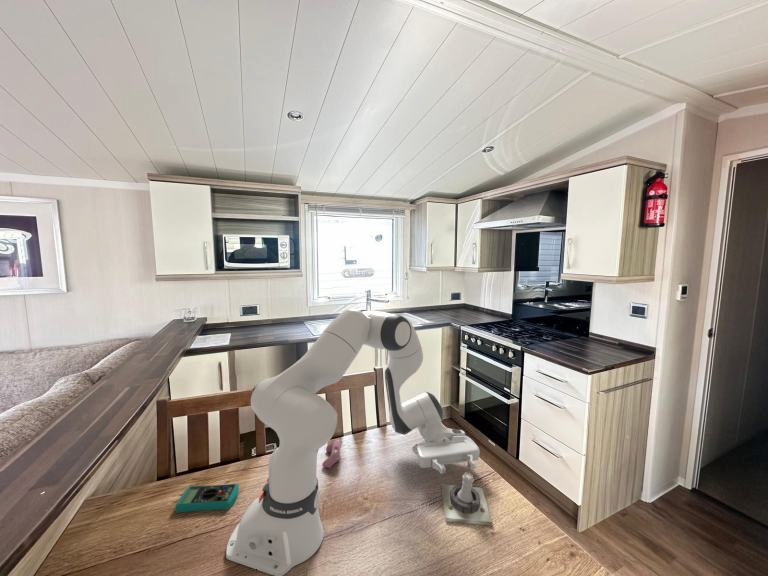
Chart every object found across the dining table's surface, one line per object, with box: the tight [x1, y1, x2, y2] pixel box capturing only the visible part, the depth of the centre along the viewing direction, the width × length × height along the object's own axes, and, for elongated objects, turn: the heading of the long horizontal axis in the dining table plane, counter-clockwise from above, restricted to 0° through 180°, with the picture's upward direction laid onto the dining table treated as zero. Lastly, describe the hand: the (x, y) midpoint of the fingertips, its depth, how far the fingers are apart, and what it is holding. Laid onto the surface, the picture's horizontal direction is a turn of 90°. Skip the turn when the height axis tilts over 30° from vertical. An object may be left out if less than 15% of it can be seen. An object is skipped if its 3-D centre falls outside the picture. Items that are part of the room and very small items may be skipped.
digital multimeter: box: [174, 483, 240, 514], centre depth 88 cm, size 7×15×3 cm, turn 96°
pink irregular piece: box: [321, 438, 343, 469], centre depth 106 cm, size 10×5×7 cm, turn 2°
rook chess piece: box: [457, 471, 475, 504], centre depth 87 cm, size 4×4×8 cm
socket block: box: [440, 484, 493, 526], centre depth 88 cm, size 12×12×3 cm
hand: (458, 469), depth 92 cm, fingers open, 8 cm apart
